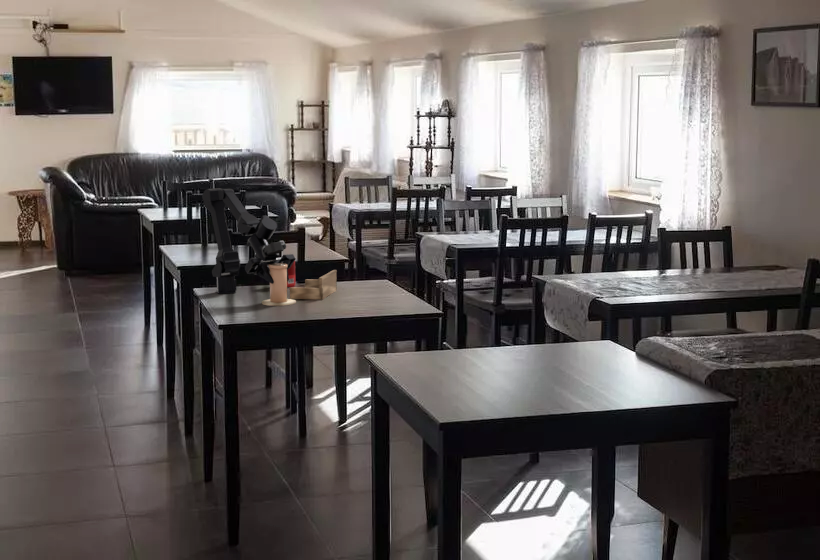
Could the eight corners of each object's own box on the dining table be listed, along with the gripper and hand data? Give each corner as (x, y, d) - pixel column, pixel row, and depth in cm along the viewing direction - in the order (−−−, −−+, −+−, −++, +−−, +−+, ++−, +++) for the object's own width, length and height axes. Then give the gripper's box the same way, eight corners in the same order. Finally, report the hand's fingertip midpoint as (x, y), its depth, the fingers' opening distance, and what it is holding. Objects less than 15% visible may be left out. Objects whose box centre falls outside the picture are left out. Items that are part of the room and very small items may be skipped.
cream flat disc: (265, 306, 383) (265, 305, 383) (259, 301, 394) (259, 299, 394) (299, 304, 387) (299, 303, 386) (292, 299, 398) (292, 297, 398)
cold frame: (290, 298, 400) (289, 277, 399) (305, 289, 420) (305, 269, 419) (322, 299, 398) (322, 278, 396) (336, 290, 418) (336, 270, 417)
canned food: (297, 285, 432) (296, 257, 431) (293, 288, 424) (292, 259, 423) (278, 284, 433) (277, 256, 431) (273, 288, 425) (272, 259, 424)
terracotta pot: (266, 302, 388) (265, 265, 386) (274, 299, 395) (273, 262, 393) (283, 303, 386) (282, 266, 384) (291, 300, 392) (290, 263, 390)
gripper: (248, 235, 384) (267, 270, 377) (292, 231, 396) (311, 265, 390) (236, 255, 390) (255, 290, 384) (279, 251, 403) (298, 284, 397)
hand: (280, 282), depth 388 cm, fingers open, 6 cm apart
